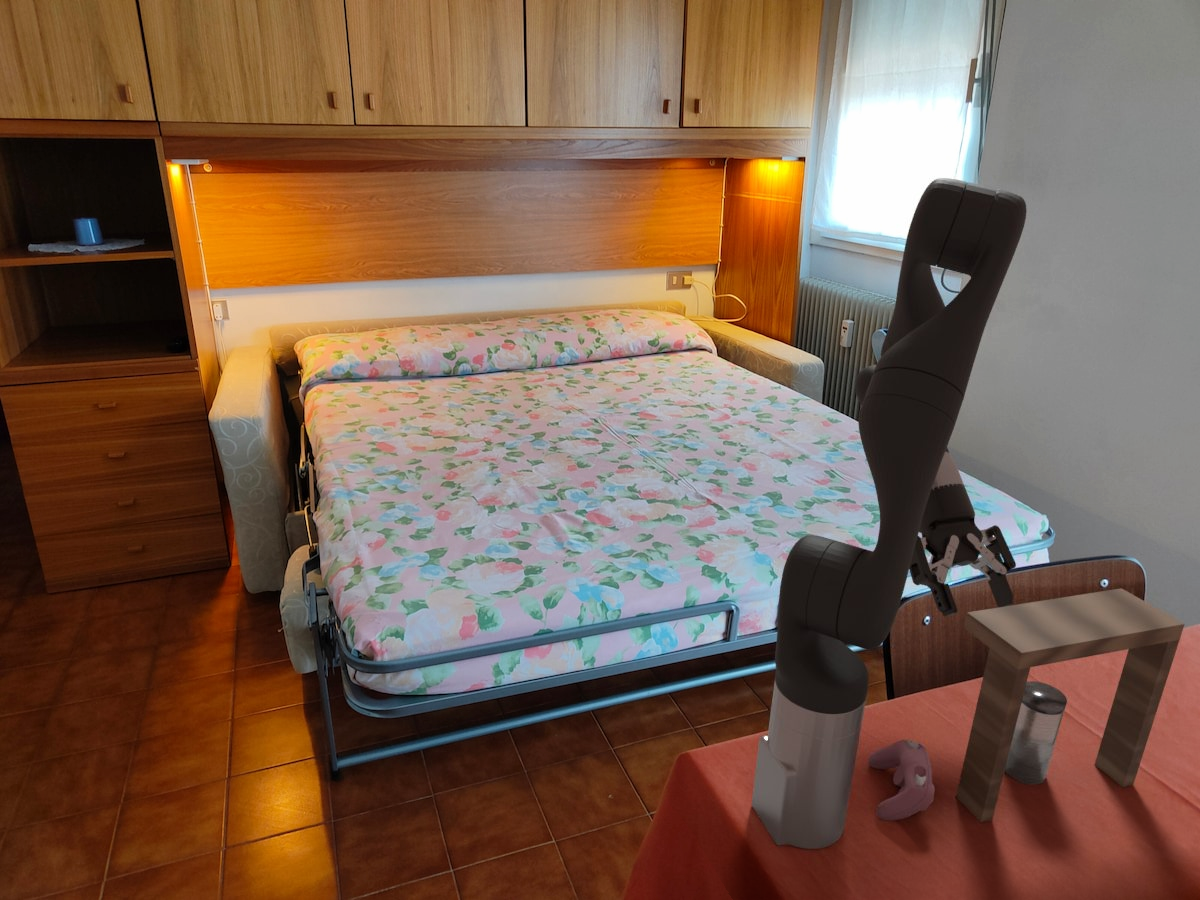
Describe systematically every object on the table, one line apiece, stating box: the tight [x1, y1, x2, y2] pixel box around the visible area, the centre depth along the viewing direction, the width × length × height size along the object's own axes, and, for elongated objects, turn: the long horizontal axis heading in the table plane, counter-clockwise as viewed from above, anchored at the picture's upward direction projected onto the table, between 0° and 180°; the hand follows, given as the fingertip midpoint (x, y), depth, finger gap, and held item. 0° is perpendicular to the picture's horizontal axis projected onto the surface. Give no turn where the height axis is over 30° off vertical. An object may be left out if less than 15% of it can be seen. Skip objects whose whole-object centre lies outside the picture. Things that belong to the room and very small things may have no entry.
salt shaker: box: [1004, 680, 1068, 785], centre depth 97 cm, size 5×5×11 cm
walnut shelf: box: [955, 588, 1185, 823], centre depth 94 cm, size 22×8×22 cm, turn 107°
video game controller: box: [867, 738, 936, 821], centre depth 94 cm, size 10×5×7 cm, turn 169°
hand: (978, 610), depth 104 cm, fingers open, 8 cm apart
